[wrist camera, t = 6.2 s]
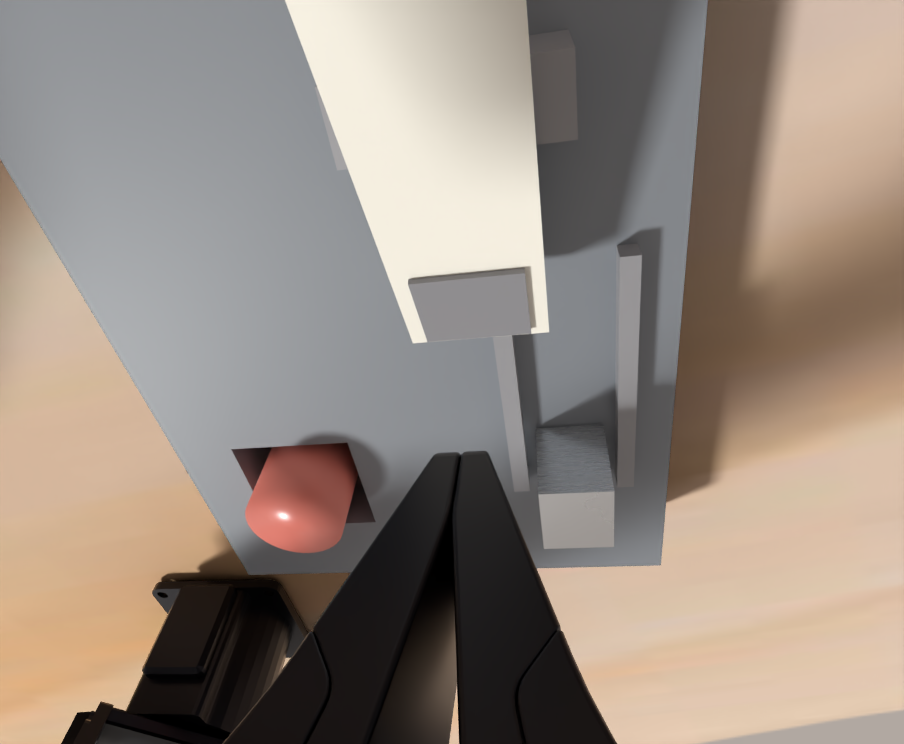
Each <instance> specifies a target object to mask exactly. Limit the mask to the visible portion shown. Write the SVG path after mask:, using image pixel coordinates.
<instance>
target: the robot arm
mask: <svg viewBox="0 0 904 744" xmlns="http://www.w3.org/2000/svg"><path fill="white" fill-rule="evenodd" d="M152 594H153V596H154V597H155V598H156V599H157V601H158V602H159V603H160V605H161V606H162V607H163V608H164V610H165V611H166V612H167V613H168V615H167V617H166V619H165V622H164V624H163V626H162V628H161V630H160V632H159V634H158V636H157V638H156V641H155V643H154V645H153V647H152V649H151V651H150V653H149V655H148V657H147V660H146V662H145V664H144V666H143V669H142V671H143V675H142V677H141V679H140V681H139V684H138V686H137V688H136V690H135V692H134V694H133V696H132V699H131V701H130V703H129V705H128V707H127V709H126V711H124V710H120V709H117V708H113V705H112V704H109V703H105V702H100V704H99V706H98V708H97V710H96V712H94V711H91V712H79V713H77V715H76V716H75V718H74V720H73V722H72V724H71V726H70V728H69V730H68V732H67V734H66V735H65V737H64V739H63V741H62V743H61V744H449V739H450V731H451V724H452V716H453V708H454V701H455V693H456V686H457V693H458V721H459V744H617V743H616V741H615V739H614V737H613V736H612V734H611V732H610V730H609V728H608V727H607V725H606V723H605V721H604V719H603V717H602V715H601V713H600V712H599V710H598V708H597V706H596V704H595V702H594V700H593V698H592V697H591V695H590V693H589V691H588V688H587V686H586V684H585V682H584V680H583V677H582V675H581V673H580V671H579V669H578V666H577V664H576V662H575V660H574V658H573V655H572V653H571V650H570V648H569V646H568V643H567V641H566V638H565V636H564V633H563V632H562V631H561V628H560V624H559V622H558V620H557V617H556V615H555V612H554V610H553V607H552V605H551V603H550V600H549V598H548V595H547V593H546V591H545V588H544V586H543V583H542V581H541V578H540V576H539V574H538V571H537V569H536V566H535V564H534V561H533V559H532V557H531V554H530V552H529V549H528V547H527V545H526V542H525V540H524V537H523V535H522V532H521V530H520V528H519V525H518V523H517V520H516V518H515V515H514V513H513V511H512V508H511V506H510V503H509V501H508V499H507V496H506V494H505V491H504V489H503V486H502V484H501V482H500V479H499V477H498V474H497V472H496V469H495V467H494V465H493V462H492V460H491V457H490V455H489V453H488V452H487V451H466V452H463V453H462V455H461V454H460V453H458V452H446V453H436V454H435V455H433V456H432V458H431V459H430V461H429V462H428V463H427V465H426V466H425V468H424V469H423V471H422V472H421V473H420V475H419V476H418V478H417V479H416V481H415V482H414V483H413V485H412V486H411V488H410V489H409V491H408V492H407V493H406V495H405V496H404V498H403V499H402V501H401V502H400V503H399V505H398V506H397V508H396V509H395V511H394V512H393V513H392V515H391V516H390V518H389V519H388V521H387V522H386V523H385V525H384V526H383V528H382V529H381V531H380V532H379V533H378V535H377V536H376V538H375V539H374V541H373V542H372V543H371V545H370V546H369V548H368V549H367V551H366V552H365V553H364V555H363V556H362V558H361V559H360V561H359V562H358V563H357V565H356V566H355V568H354V569H353V571H352V572H351V573H350V575H349V576H348V578H347V579H346V581H345V582H344V583H343V585H342V586H341V588H340V589H339V591H338V592H337V593H336V595H335V596H334V598H333V599H332V601H331V602H330V603H329V605H328V606H327V608H326V609H325V611H324V612H323V613H322V615H321V616H320V618H319V619H318V621H317V622H316V623H315V625H314V626H313V632H309V633H308V632H307V630H306V629H305V627H304V625H303V623H302V621H301V620H300V618H299V616H298V614H297V612H296V611H295V609H294V607H293V605H292V603H291V601H290V600H289V598H288V596H287V594H286V592H285V591H284V589H283V587H282V585H281V584H280V583H279V582H277V581H274V580H223V581H178V582H158V583H157V584H156V586H155V588H154V590H153V592H152ZM285 658H291V659H290V660H289V661H288V663H287V664H286V665H285V667H284V668H283V664H284V661H285ZM282 668H283V669H282Z"/></svg>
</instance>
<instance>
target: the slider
mask: <svg viewBox="0 0 904 744" xmlns="http://www.w3.org/2000/svg"><path fill="white" fill-rule="evenodd" d="M536 450H537V475H538V497H539V506H540V516H541V525H542V535H543V545H544V549H560V548H595V547H614V486H613V480H612V474H611V468H610V462H609V456H608V450H607V444H606V438H605V431H604V425H603V424H598V425H581V426H564V427H547V428H536Z"/></svg>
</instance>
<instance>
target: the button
mask: <svg viewBox="0 0 904 744" xmlns="http://www.w3.org/2000/svg"><path fill="white" fill-rule="evenodd" d="M357 477H358V471H357V468H356V465H355V463H354V460H353V457H352V454H351V451H350V449H349V446H348V443H332V444H315V445H297V446H280V447H272V448H271V451H270V453H269V455H268V458H267V460H266V462H265V465H264V467H263V469H262V472H261V474H260V476H259V479H258V481H257V483H256V486H255V488H254V490H253V493H252V495H251V497H250V500H249V502H248V504H247V507H246V510H245V517H246V521H247V523H248V525H249V527H250V528H251V530H252V531H253V532H254V533H255V534H256V535H257V536H258V537H260V538H261V539H262V540H264V541H266V542H267V543H269V544H271V545H273V546H275V547H278V548H280V549H284V550H287V551H292V552H298V553H315V552H320V551H324V550H327V549H329V548H331V547H333V546H334V545H335V544H337V543H338V542H339V540H340V539H341V537H342V534H343V530H344V526H345V523H346V519H347V515H348V511H349V507H350V504H351V500H352V496H353V492H354V488H355V485H356V481H357Z"/></svg>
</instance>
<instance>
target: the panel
mask: <svg viewBox="0 0 904 744" xmlns="http://www.w3.org/2000/svg"><path fill="white" fill-rule="evenodd" d="M526 3H527V18H528V32H529V47H530V61H531V76H532V90H533V105H534V119H535V134H536V148H537V163H538V177H539V192H540V206H541V220H542V235H543V249H544V264H545V278H546V293H547V307H548V322H549V332H546V333H534V334H522V335H510V336H498V337H485V338H473V339H461V340H449V341H436V342H424V343H413V342H412V339H411V337H410V334H409V331H408V329H407V326H406V323H405V321H404V318H403V315H402V313H401V310H400V307H399V305H398V302H397V299H396V296H395V294H394V291H393V288H392V286H391V283H390V280H389V278H388V275H387V272H386V270H385V267H384V264H383V262H382V259H381V256H380V254H379V251H378V248H377V246H376V243H375V240H374V238H373V235H372V232H371V230H370V227H369V224H368V221H367V219H366V216H365V213H364V211H363V208H362V205H361V203H360V200H359V197H358V195H357V192H356V189H355V187H354V184H353V181H352V179H351V176H350V173H349V171H348V168H347V165H346V163H345V160H344V157H343V155H342V152H341V149H340V147H339V144H338V141H337V138H336V136H335V133H334V130H333V128H332V125H331V122H330V120H329V117H328V114H327V112H326V109H325V106H324V104H323V101H322V98H321V96H320V93H319V90H318V88H317V85H316V82H315V80H314V77H313V74H312V72H311V69H310V66H309V63H308V61H307V58H306V55H305V53H304V50H303V47H302V45H301V42H300V39H299V37H298V34H297V31H296V29H295V26H294V23H293V21H292V18H291V15H290V13H289V10H288V7H287V5H286V2H285V0H0V159H1V161H2V163H3V164H4V166H5V168H6V169H7V171H8V173H9V174H10V176H11V178H12V179H13V181H14V183H15V184H16V186H17V188H18V190H19V191H20V193H21V195H22V196H23V198H24V200H25V201H26V203H27V205H28V206H29V208H30V210H31V211H32V213H33V215H34V216H35V218H36V220H37V221H38V223H39V225H40V226H41V228H42V230H43V231H44V233H45V235H46V236H47V238H48V240H49V241H50V243H51V245H52V246H53V248H54V250H55V251H56V253H57V255H58V256H59V258H60V260H61V261H62V263H63V265H64V266H65V268H66V270H67V271H68V273H69V275H70V277H71V278H72V280H73V282H74V283H75V285H76V287H77V288H78V290H79V292H80V293H81V295H82V297H83V298H84V300H85V302H86V303H87V305H88V307H89V308H90V310H91V312H92V313H93V315H94V317H95V318H96V320H97V322H98V323H99V325H100V327H101V328H102V330H103V332H104V333H105V335H106V337H107V338H108V340H109V342H110V343H111V345H112V347H113V348H114V350H115V352H116V353H117V355H118V357H119V358H120V360H121V362H122V364H123V365H124V367H125V369H126V370H127V372H128V374H129V375H130V377H131V379H132V380H133V382H134V384H135V385H136V387H137V389H138V390H139V392H140V394H141V395H142V397H143V399H144V400H145V402H146V404H147V405H148V407H149V409H150V410H151V412H152V414H153V415H154V417H155V419H156V420H157V422H158V424H159V425H160V427H161V429H162V430H163V432H164V434H165V435H166V437H167V439H168V440H169V442H170V444H171V446H172V447H173V449H174V451H175V452H176V454H177V456H178V457H179V459H180V461H181V462H182V464H183V466H184V467H185V469H186V471H187V472H188V474H189V476H190V477H191V479H192V481H193V482H194V484H195V486H196V487H197V489H198V491H199V492H200V494H201V496H202V497H203V499H204V501H205V502H206V504H207V506H208V507H209V509H210V511H211V512H212V514H213V516H214V517H215V519H216V521H217V522H218V524H219V526H220V527H221V529H222V531H223V533H224V534H225V536H226V538H227V539H228V541H229V543H230V544H231V546H232V548H233V549H234V551H235V553H236V554H237V556H238V558H239V559H240V561H241V563H242V564H243V566H244V568H245V569H246V571H247V573H248V574H249V575H267V574H310V573H351V572H352V571H353V569H354V568H355V566H356V565H357V563H358V562H359V561H360V559H361V558H362V556H363V555H364V553H365V552H366V551H367V549H368V548H369V546H370V545H371V543H372V542H373V541H374V539H375V538H376V536H377V535H378V533H379V532H380V531H381V529H382V528H383V526H384V525H385V523H386V522H387V521H388V519H389V518H390V516H391V515H392V513H393V512H394V511H395V509H396V508H397V506H398V505H399V503H400V502H401V501H402V499H403V498H404V496H405V495H406V493H407V492H408V491H409V489H410V488H411V486H412V485H413V483H414V482H415V481H416V479H417V478H418V476H419V475H420V473H421V472H422V471H423V469H424V468H425V466H426V465H427V463H428V462H429V461H430V459H431V458H432V456H433V455H435V454H436V453H446V452H458V453H460V454H461V455H462V453H463V452H466V451H487V452H488V453H489V455H490V457H491V460H492V462H493V465H494V467H495V469H496V472H497V474H498V477H499V479H500V482H501V484H502V486H503V489H504V491H505V494H506V496H507V499H508V501H509V503H510V506H511V508H512V511H513V513H514V515H515V518H516V520H517V523H518V525H519V528H520V530H521V532H522V535H523V537H524V540H525V542H526V545H527V547H528V549H529V552H530V554H531V557H532V559H533V561H534V564H535V566H536V568H566V567H608V566H651V565H661V556H662V544H663V532H664V520H665V508H666V496H667V484H668V472H669V460H670V448H671V436H672V424H673V412H674V400H675V388H676V376H677V364H678V352H679V340H680V328H681V316H682V305H683V293H684V281H685V269H686V257H687V245H688V233H689V221H690V209H691V197H692V185H693V173H694V161H695V149H696V137H697V125H698V113H699V101H700V89H701V77H702V65H703V53H704V41H705V29H706V17H707V5H708V0H526ZM598 424H603V425H604V431H605V438H606V444H607V450H608V456H609V462H610V468H611V474H612V480H613V486H614V547H595V548H560V549H544V545H543V535H542V525H541V516H540V506H539V497H538V475H537V450H536V428H547V427H564V426H581V425H598ZM332 443H348V446H349V449H350V451H351V454H352V457H353V460H354V463H355V465H356V468H357V471H358V477H357V481H356V485H355V488H354V492H353V496H352V500H351V504H350V507H349V511H348V515H347V519H346V523H345V526H344V530H343V534H342V537H341V539H340V540H339V542H338V543H337V544H335V545H334V546H333V547H331V548H329V549H327V550H324V551H320V552H315V553H298V552H292V551H287V550H284V549H280V548H278V547H275V546H273V545H271V544H269V543H267V542H266V541H264V540H262V539H261V538H260V537H258V536H257V535H256V534H255V533H254V532H253V531H252V530H251V528H250V527H249V525H248V523H247V521H246V517H245V510H246V507H247V504H248V502H249V500H250V497H251V495H252V493H253V490H254V488H255V486H256V483H257V481H258V479H259V476H260V474H261V472H262V469H263V467H264V465H265V462H266V460H267V458H268V455H269V453H270V451H271V448H272V447H280V446H297V445H315V444H332Z"/></svg>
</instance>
